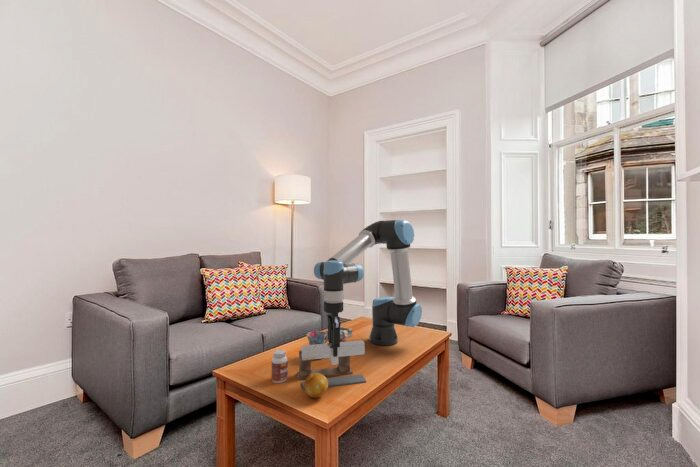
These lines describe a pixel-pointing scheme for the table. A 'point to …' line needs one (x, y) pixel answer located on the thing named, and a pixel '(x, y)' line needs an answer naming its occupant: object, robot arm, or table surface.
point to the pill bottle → (279, 366)
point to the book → (344, 333)
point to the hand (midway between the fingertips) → (333, 362)
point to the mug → (317, 337)
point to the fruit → (316, 385)
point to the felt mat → (343, 380)
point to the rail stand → (340, 370)
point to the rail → (325, 351)
